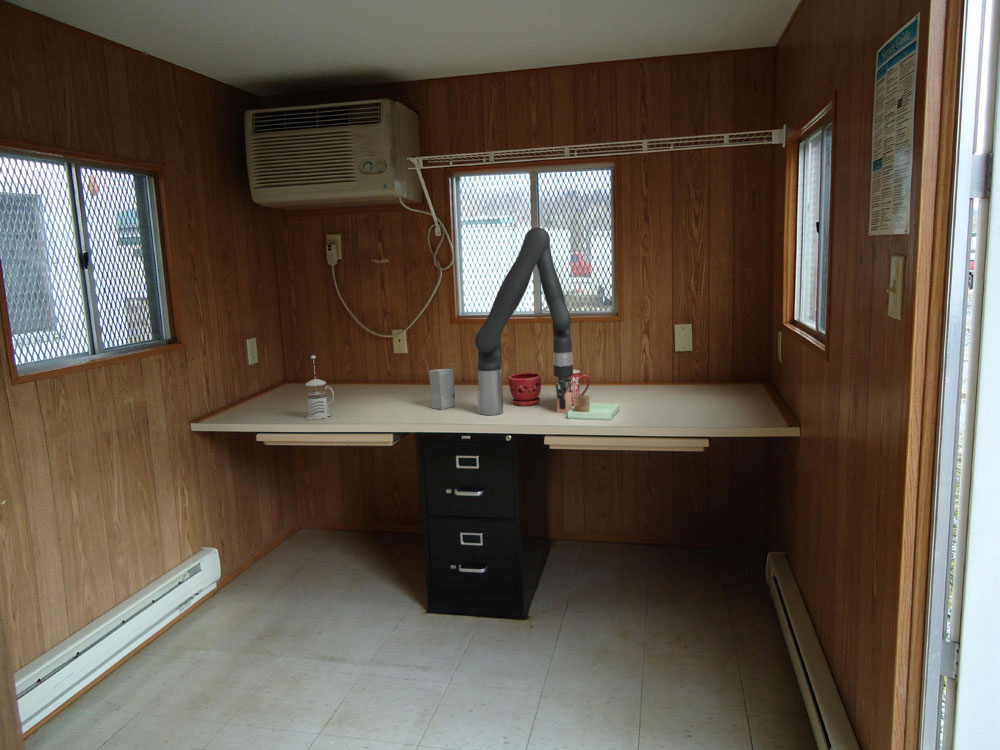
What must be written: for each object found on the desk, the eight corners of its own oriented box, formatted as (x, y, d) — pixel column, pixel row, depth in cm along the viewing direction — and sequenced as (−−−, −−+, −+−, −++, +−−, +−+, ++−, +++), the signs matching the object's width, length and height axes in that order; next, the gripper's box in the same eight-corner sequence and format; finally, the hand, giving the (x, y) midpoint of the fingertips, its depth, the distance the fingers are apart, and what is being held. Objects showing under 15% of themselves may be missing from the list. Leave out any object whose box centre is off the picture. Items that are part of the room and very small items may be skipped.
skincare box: (441, 410, 293) (439, 371, 291) (429, 408, 298) (427, 370, 296) (456, 406, 300) (454, 368, 297) (445, 404, 304) (442, 367, 302)
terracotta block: (557, 412, 280) (556, 394, 278) (560, 409, 284) (559, 392, 282) (568, 412, 278) (568, 394, 277) (571, 410, 282) (571, 392, 281)
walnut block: (574, 416, 269) (574, 397, 268) (577, 413, 273) (577, 395, 272) (586, 416, 267) (586, 398, 266) (589, 414, 271) (589, 395, 270)
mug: (558, 407, 289) (557, 373, 286) (558, 402, 298) (557, 369, 295) (590, 406, 288) (589, 372, 285) (589, 401, 296) (589, 368, 294)
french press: (308, 415, 296) (302, 354, 292) (337, 413, 297) (331, 352, 293) (304, 420, 287) (298, 357, 282) (334, 418, 288) (328, 356, 283)
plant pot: (516, 400, 306) (514, 372, 304) (545, 401, 301) (544, 372, 299) (505, 406, 294) (503, 377, 292) (536, 407, 289) (534, 378, 287)
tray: (567, 418, 268) (567, 411, 268) (578, 409, 283) (578, 402, 282) (610, 420, 263) (610, 413, 262) (619, 410, 277) (619, 404, 277)
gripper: (558, 360, 286) (560, 403, 288) (548, 366, 272) (549, 411, 275) (577, 360, 283) (578, 403, 286) (567, 366, 270) (569, 411, 273)
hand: (564, 407), depth 281 cm, fingers closed on terracotta block, 4 cm apart
